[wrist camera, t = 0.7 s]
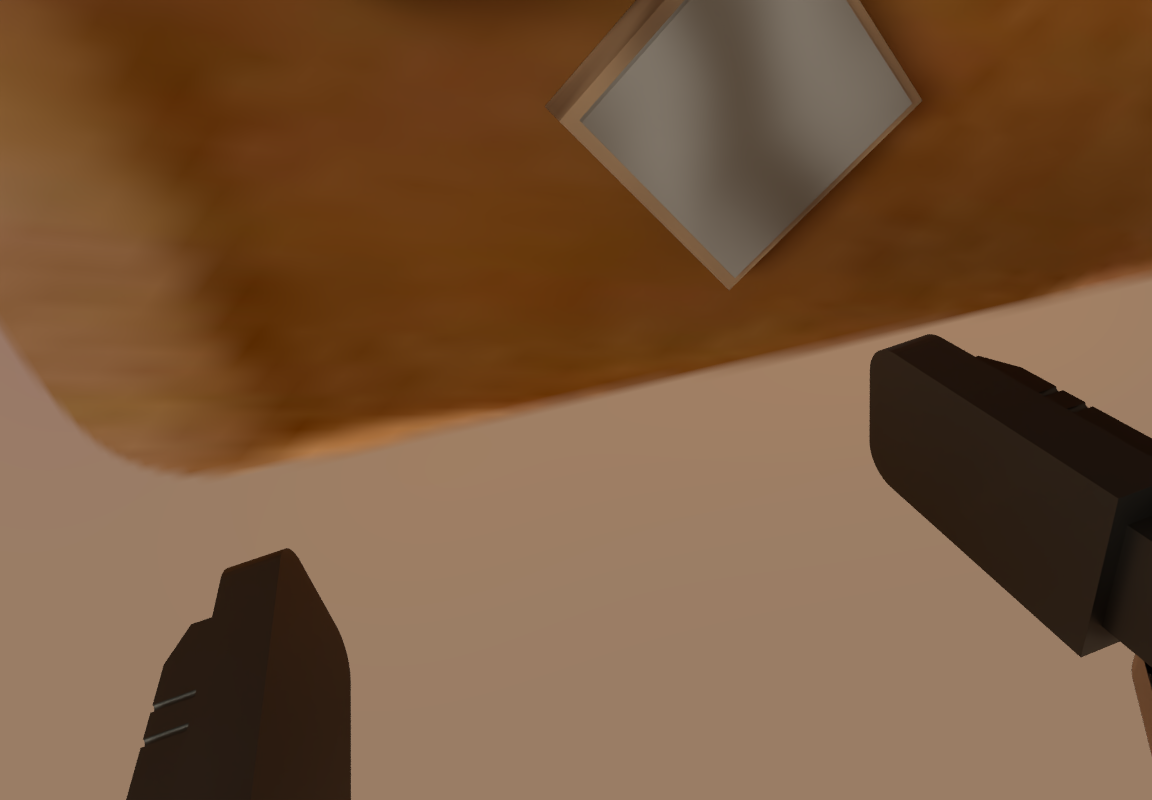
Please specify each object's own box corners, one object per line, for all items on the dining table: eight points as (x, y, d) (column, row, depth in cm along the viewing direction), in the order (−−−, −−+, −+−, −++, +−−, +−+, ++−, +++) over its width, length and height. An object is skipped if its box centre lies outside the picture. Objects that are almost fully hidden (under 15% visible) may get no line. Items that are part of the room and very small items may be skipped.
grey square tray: (743, -125, 25) (783, -131, 22) (883, 88, 30) (928, 102, 28) (544, 106, 27) (561, 123, 25) (705, 266, 32) (733, 294, 30)
